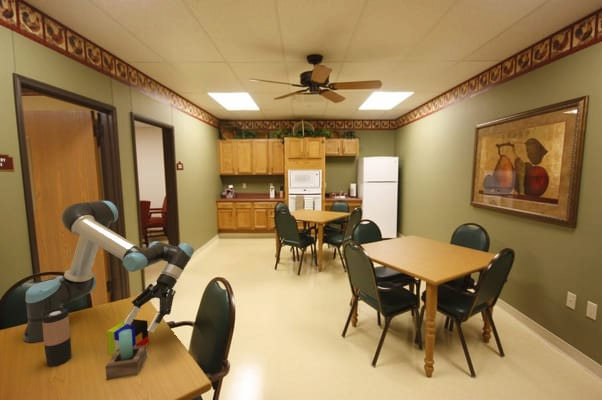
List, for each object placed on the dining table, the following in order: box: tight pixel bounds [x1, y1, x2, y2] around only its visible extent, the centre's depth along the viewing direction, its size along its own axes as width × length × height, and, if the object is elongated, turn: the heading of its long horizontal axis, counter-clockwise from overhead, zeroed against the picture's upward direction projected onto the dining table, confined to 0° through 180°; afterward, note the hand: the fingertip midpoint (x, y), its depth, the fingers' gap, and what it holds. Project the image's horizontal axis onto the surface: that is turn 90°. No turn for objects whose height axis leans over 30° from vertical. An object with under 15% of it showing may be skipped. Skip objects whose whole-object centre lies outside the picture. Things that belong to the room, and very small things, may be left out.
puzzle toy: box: [106, 318, 150, 356], centre depth 112 cm, size 10×10×10 cm
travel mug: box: [42, 307, 72, 368], centre depth 104 cm, size 8×8×20 cm
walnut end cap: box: [104, 344, 148, 380], centre depth 101 cm, size 10×10×5 cm
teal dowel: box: [119, 329, 133, 361], centre depth 100 cm, size 4×4×12 cm
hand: (138, 327), depth 104 cm, fingers open, 13 cm apart
